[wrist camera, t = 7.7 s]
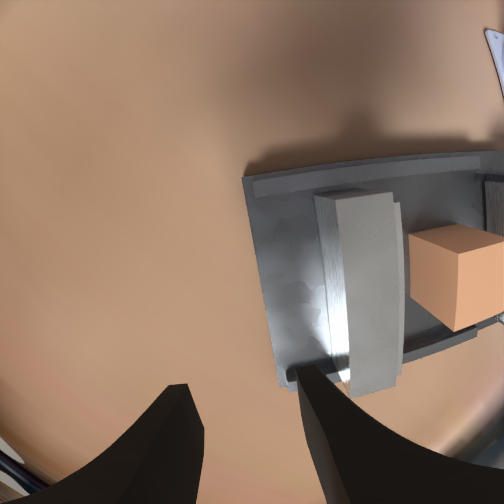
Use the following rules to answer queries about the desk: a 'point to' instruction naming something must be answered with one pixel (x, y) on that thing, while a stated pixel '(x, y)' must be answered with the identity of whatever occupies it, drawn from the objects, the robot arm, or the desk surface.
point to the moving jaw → (363, 285)
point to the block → (457, 274)
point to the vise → (310, 254)
